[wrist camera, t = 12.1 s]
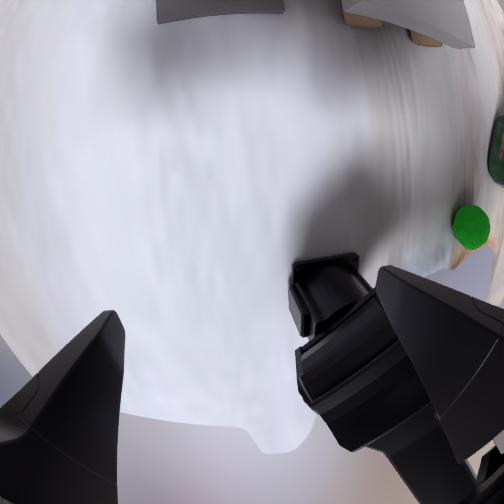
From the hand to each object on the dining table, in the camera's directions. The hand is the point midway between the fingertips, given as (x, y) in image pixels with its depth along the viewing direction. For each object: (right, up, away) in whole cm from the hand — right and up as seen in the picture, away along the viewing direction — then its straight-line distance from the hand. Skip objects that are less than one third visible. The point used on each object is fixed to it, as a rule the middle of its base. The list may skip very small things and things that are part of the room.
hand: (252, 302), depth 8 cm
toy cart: (+11, +24, +4) cm, 27 cm away
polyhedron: (+24, +5, +16) cm, 30 cm away
